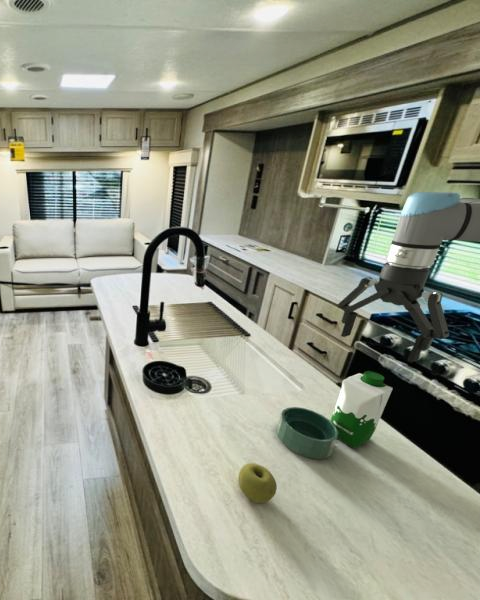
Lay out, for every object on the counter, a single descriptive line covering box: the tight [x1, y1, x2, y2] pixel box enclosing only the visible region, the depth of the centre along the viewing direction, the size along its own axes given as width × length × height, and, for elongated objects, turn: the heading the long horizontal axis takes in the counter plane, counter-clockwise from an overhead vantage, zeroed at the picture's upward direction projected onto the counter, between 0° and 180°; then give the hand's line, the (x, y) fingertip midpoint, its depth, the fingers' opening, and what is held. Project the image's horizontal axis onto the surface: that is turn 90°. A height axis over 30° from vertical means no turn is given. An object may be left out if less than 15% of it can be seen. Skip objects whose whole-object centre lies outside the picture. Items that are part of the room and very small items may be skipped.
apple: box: [237, 462, 277, 504], centre depth 72 cm, size 8×8×7 cm
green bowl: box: [276, 406, 338, 460], centre depth 87 cm, size 13×13×6 cm
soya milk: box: [330, 370, 393, 449], centre depth 86 cm, size 9×9×20 cm
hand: (376, 347), depth 78 cm, fingers open, 13 cm apart
